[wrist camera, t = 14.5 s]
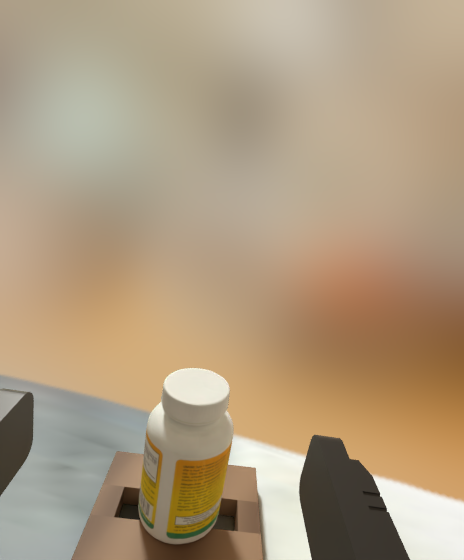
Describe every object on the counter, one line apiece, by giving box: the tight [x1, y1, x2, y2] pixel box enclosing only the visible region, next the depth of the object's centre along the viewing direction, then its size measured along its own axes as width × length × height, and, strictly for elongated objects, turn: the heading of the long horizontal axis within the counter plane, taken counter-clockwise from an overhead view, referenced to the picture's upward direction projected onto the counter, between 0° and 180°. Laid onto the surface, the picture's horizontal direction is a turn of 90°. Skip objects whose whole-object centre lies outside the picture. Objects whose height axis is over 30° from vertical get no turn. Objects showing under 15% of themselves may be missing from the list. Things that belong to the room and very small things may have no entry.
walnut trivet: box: [71, 451, 263, 560], centre depth 25 cm, size 11×9×2 cm
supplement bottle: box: [138, 368, 233, 544], centre depth 23 cm, size 5×5×10 cm
